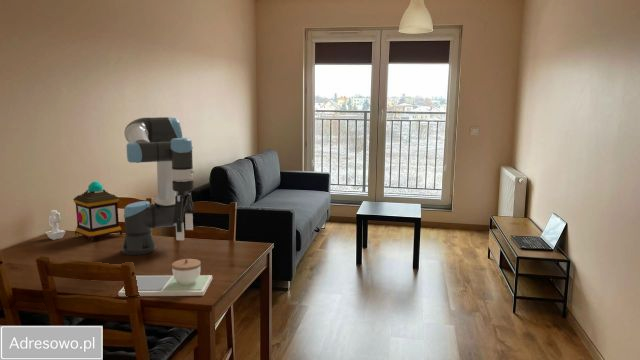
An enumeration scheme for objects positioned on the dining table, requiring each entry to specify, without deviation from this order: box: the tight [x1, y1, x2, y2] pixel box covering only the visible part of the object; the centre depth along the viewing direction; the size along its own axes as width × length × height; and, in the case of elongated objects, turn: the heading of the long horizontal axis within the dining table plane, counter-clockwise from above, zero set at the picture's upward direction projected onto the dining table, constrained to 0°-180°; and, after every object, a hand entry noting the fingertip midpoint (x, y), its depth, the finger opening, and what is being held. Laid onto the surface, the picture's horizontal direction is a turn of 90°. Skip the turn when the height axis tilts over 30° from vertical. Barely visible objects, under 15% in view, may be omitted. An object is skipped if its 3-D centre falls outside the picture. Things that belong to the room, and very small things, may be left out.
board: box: [118, 274, 213, 297], centre depth 181 cm, size 31×17×2 cm, turn 92°
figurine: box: [44, 209, 66, 241], centre depth 246 cm, size 7×9×15 cm
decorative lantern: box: [72, 180, 123, 243], centre depth 248 cm, size 20×20×30 cm
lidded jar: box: [171, 258, 202, 285], centre depth 181 cm, size 11×11×9 cm
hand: (185, 234), depth 179 cm, fingers open, 13 cm apart
